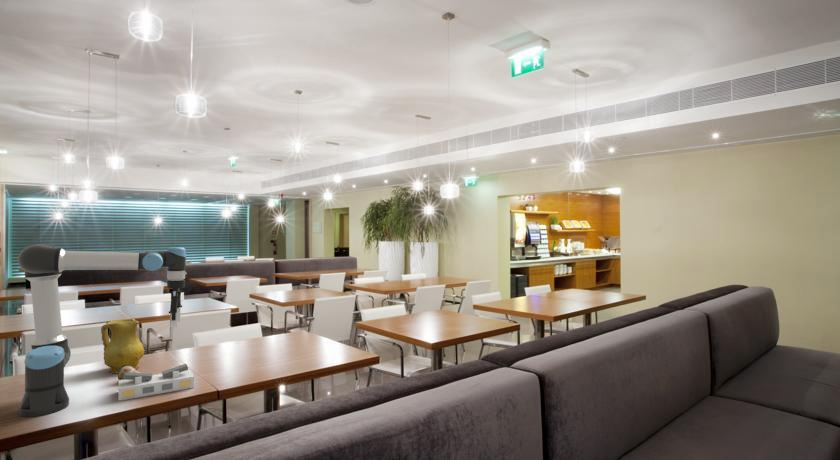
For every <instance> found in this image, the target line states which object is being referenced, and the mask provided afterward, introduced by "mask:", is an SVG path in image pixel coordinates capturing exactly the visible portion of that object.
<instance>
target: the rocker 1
mask: <svg viewBox="0 0 840 460" xmlns="http://www.w3.org/2000/svg"><path fill="white" fill-rule="evenodd" d="M152 375H153V374H152V372H141V373H128V372H125V375H124V380H135V377H141V376H142V380H151V379H152Z"/></svg>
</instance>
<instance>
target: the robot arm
mask: <svg viewBox="0 0 840 460" xmlns="http://www.w3.org/2000/svg"><path fill="white" fill-rule="evenodd" d="M186 251H187V250H186V248H185V247H183V246H181V247H180V246H177V247H176V246H175V247H174V246H171V247H168V248H167V250H166V251H139V252H133V251H132V252H127V251H126V252H125V251H123V252H121V251H120V252H118V251H90V250H89V251H87V250H86V251H85V250H83V251H81V250H80V251H78V250H65V249H64V248H61V247H56V246H55V245H52V244H50V243H36V244H33V245H29V246H26V248H25V247H24V248H23V249H22V250H21V252H20V253H19V255H18V258H17V261H18V264H19V267H20V268H21V269H22V270H23V271H24V279H26V280H27V281H29V282H30V289H31V290H30V293H31V301H32V302H31V303H32V312H33V313H32V314H33V315H32V316H33V324H34V333H35V335H34V336H35V339H34V340H33V341H32V342H31V350H29V351H28V352H27V353H26V354H25V358H24V395H23V396H22V398H21V401H20V403H19V406H18V416H21V417H26V418H27V417H39V416H44V415H49V414H52V413H53V414H54V413H56V412H60V411H62V410H63V409H65V408H67V407H68V406H69V405H70V397H69V396H68V393H67V390H66V388H65V386H64V385H65V384H64V383H65V377H64V376H65V367H66V365H67V364H68V362H69V360H70V358H71V353H72V352H71V349H70V347H69V343H68V342H69V340H68V337H67V336H66V335H64V334H63V326H62V314H61V306H60V305H61V304H60V295H59V293H60V291H59V283H58V279H59V278H60V277H61V275H62V272H64V271H65V270H70V271H71V270H74V271H75V270H77V271H78V270H82V271H83V270H85V271H87V270H89V271H90V270H91V271H94V270H96V271H98V270H102V271H106V270H107V271H108V270H109V271H112V270H113V271H122V270H123V271H127V270H128V271H129V270H130V271H131V270H133V271H151V272H154V271H158V270H159V269H161V268H167V271H166V276H167V277H166V279H167V282H166V287H167V289H172V291H171V292H170V309H169V311H168V314H170V322H169V328H177V327H178V322H181V308H183V305H182V301H181V298H182V297H181V296H182V289H185V288H186V280H185V279H186V275H187V274H188V273H187V272H186V266H187V265H186V264H187V263H186V262H187V252H186Z"/></svg>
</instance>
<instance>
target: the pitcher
mask: <svg viewBox="0 0 840 460" xmlns="http://www.w3.org/2000/svg"><path fill="white" fill-rule="evenodd" d="M139 323H140V322H139V321H138V320H136V319H135V318H125V319H124V318H123V319H116V320H115V319H114V320H112V321H108V322H107V323H105V324H103V325H102V326H101V329H100V332H101V333H100V334H101V340H102V345H103V362H104V365H105V366H106V367H108V368H110V369H109V370H108V371H109V373H110V372H111V374H119V372H120V370H121V369H122V368H123V367H125V366H131V367H133V368H134V369H135V370H136V371H137V370H138V369H139V368H140V367H139V366H138V364H139V363H140V360H141V359H142V358H143V357H144V356H145V348H144V347H145V346H144V345H143V343H142V342H141V340H140V338H139V336H138V325H139ZM108 330H110V332H111V336H110V339H109V333H108V332H109V331H108Z"/></svg>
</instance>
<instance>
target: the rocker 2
mask: <svg viewBox="0 0 840 460" xmlns="http://www.w3.org/2000/svg"><path fill="white" fill-rule="evenodd" d="M173 367H174V368H172V367H171V368H169V369H165V370H162V371H161V374H162V375H163V378H166V377H168V376H171V375H173V371H179V373H180V372H183V371H186V370H189V368H188V365H187V363H184V364H181V365H178V366H177V365H176V366H173Z"/></svg>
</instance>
